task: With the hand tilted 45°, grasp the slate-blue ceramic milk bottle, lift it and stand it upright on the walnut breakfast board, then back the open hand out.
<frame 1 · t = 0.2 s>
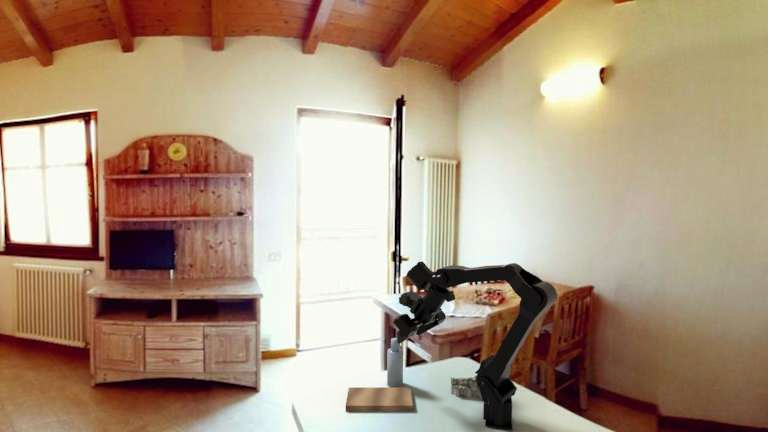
hand: (408, 338, 118), 14 cm above the table, tool tilted 35°, fingers open, 9 cm apart
egg carton: (468, 393, 115), on the table
walnut board: (379, 401, 109), on the table
slate-blue bottle: (395, 384, 119), on the table
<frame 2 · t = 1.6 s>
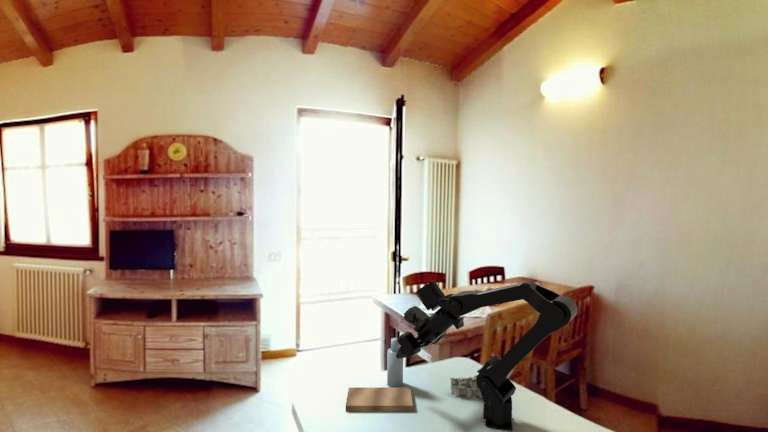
hand: (405, 352, 116), 11 cm above the table, tool tilted 45°, fingers open, 9 cm apart
nothing on the table moved.
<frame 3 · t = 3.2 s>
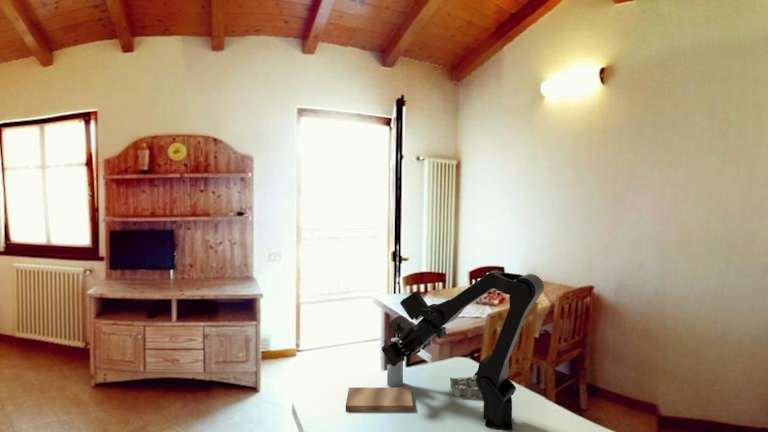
hand: (391, 360, 120), 7 cm above the table, tool tilted 45°, fingers closed on slate-blue bottle, 5 cm apart
slate-blue bottle: (395, 384, 119), on the table, touching gripper
everything else where it was.
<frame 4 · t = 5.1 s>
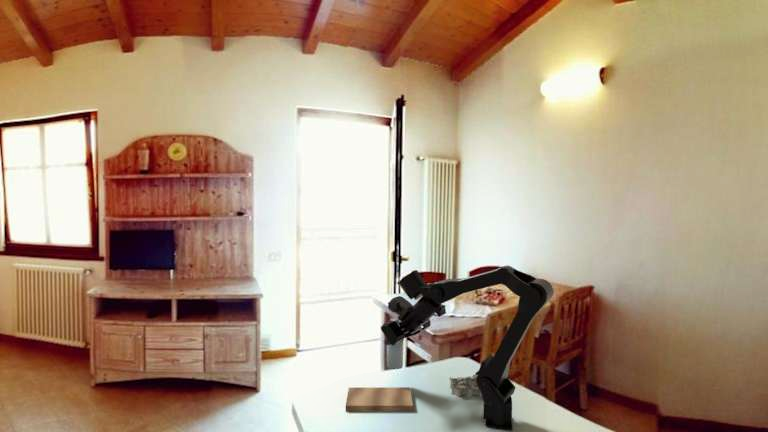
hand: (391, 341, 119), 13 cm above the table, tool tilted 45°, fingers closed on slate-blue bottle, 5 cm apart
slate-blue bottle: (394, 365, 118), point 6 cm above the table, touching gripper
everything else where it was.
when the fingers open (9 cm above the table, at t = 7.1 s): slate-blue bottle stays where it is, resting on walnut board.
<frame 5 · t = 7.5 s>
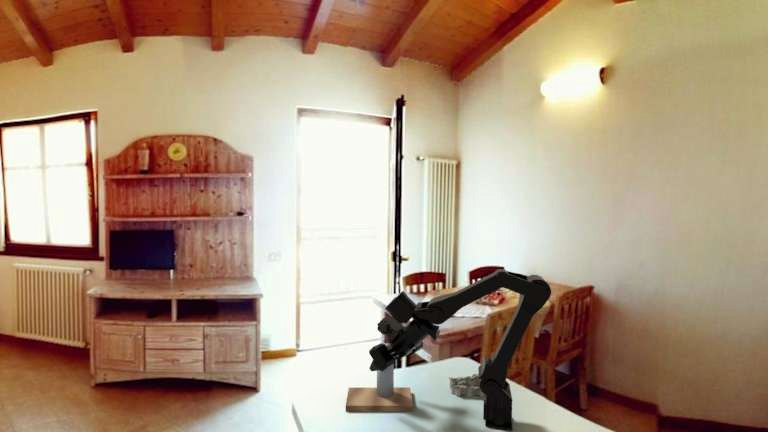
hand: (380, 364, 111), 10 cm above the table, tool tilted 45°, fingers open, 9 cm apart
slate-blue bottle: (385, 393, 111), point 2 cm above the table, touching walnut board
everything else where it was.
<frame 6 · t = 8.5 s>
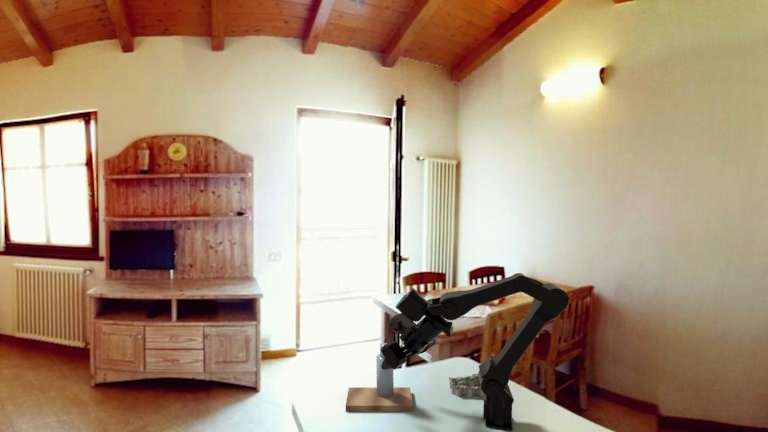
hand: (392, 362, 109), 11 cm above the table, tool tilted 45°, fingers open, 9 cm apart
nothing on the table moved.
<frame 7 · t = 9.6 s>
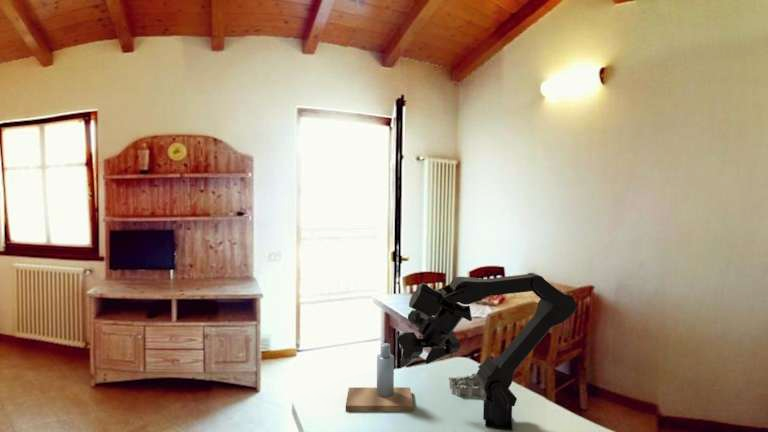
hand: (414, 364, 103), 13 cm above the table, tool tilted 35°, fingers open, 9 cm apart
nothing on the table moved.
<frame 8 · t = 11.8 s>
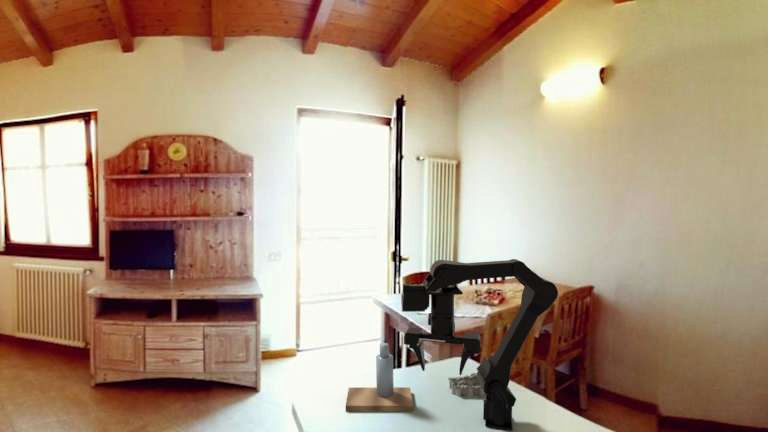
hand: (441, 372, 98), 13 cm above the table, tool pointing down, fingers open, 9 cm apart
nothing on the table moved.
at the end: slate-blue bottle inside the target area on the walnut board (0.5 cm from its centre), point 1.5 cm above the walnut board's base; slate-blue bottle tilted 1°; the gripper is holding nothing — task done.
